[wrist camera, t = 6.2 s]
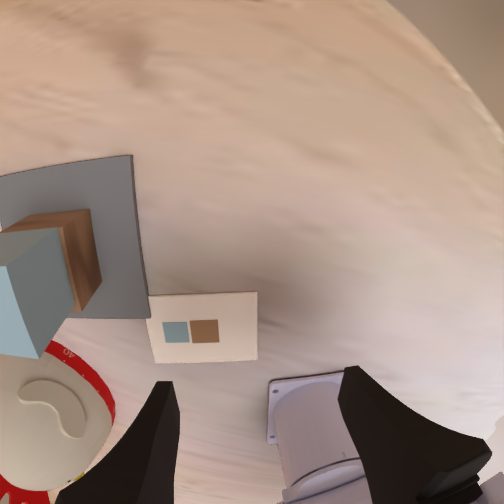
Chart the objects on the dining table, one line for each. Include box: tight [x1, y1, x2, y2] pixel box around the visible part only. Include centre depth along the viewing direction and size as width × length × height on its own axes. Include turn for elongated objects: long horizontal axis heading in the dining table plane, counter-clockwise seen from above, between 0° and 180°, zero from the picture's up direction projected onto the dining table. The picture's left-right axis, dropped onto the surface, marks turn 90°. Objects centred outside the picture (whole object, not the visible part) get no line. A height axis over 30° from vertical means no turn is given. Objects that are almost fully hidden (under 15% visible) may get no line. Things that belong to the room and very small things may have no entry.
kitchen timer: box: [0, 340, 115, 504], centre depth 17 cm, size 14×14×15 cm
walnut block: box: [0, 209, 102, 312], centre depth 16 cm, size 5×5×4 cm
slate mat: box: [0, 155, 151, 319], centre depth 19 cm, size 11×11×1 cm
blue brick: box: [0, 227, 75, 359], centre depth 12 cm, size 4×4×5 cm
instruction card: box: [146, 291, 258, 363], centre depth 22 cm, size 6×8×1 cm
